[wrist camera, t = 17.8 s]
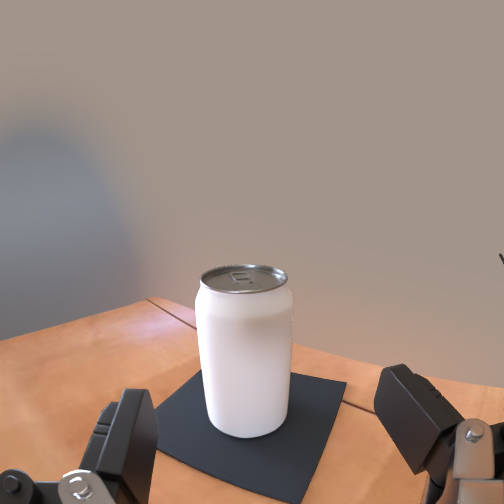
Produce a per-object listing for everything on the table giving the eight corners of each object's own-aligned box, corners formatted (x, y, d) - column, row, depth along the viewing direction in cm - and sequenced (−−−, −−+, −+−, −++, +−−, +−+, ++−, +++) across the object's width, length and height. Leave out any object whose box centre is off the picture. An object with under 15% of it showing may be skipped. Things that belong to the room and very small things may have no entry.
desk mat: (218, 356, 31) (217, 353, 31) (346, 384, 25) (346, 382, 25) (129, 432, 19) (128, 430, 19) (299, 505, 13) (299, 503, 13)
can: (211, 445, 18) (192, 298, 15) (206, 393, 24) (193, 265, 21) (296, 433, 19) (309, 289, 16) (276, 385, 25) (279, 260, 23)
